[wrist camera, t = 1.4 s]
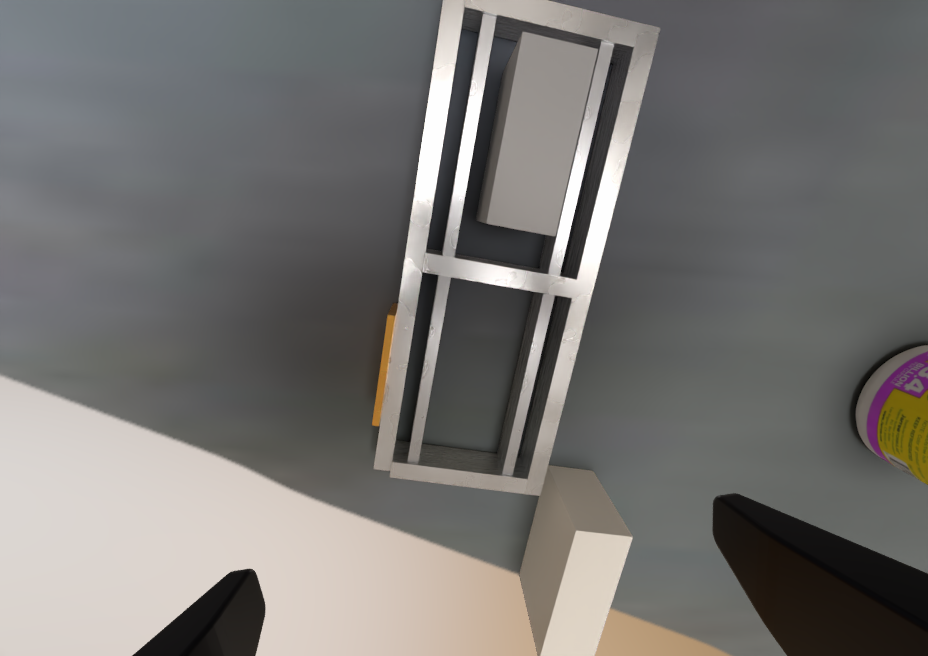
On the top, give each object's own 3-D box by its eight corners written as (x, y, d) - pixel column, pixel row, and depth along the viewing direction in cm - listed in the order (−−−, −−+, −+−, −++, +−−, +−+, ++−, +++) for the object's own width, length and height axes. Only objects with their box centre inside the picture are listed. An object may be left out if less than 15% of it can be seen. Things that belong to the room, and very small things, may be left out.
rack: (636, 46, 18) (665, 23, 16) (531, 472, 23) (542, 501, 21) (437, -1, 18) (437, -33, 15) (371, 451, 22) (364, 479, 20)
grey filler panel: (560, 86, 19) (598, 49, 14) (529, 230, 20) (555, 236, 16) (502, 73, 18) (522, 31, 14) (475, 220, 20) (486, 223, 16)
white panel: (592, 469, 24) (632, 536, 19) (561, 578, 25) (591, 665, 20) (547, 463, 23) (576, 530, 19) (518, 573, 25) (538, 660, 20)
